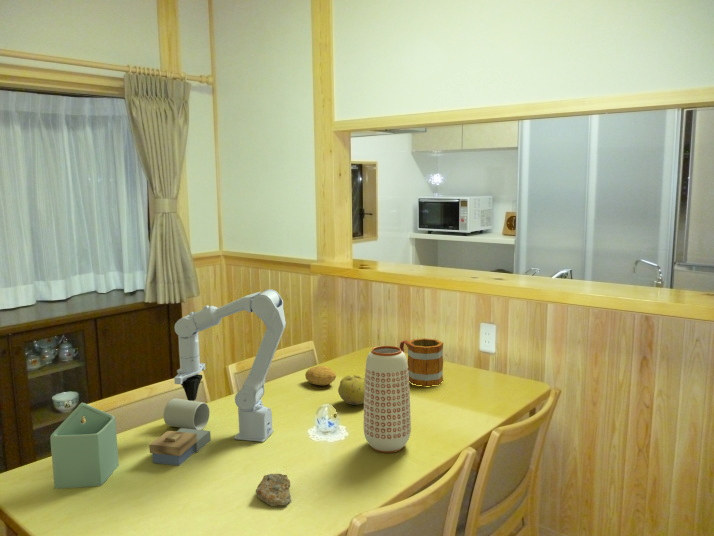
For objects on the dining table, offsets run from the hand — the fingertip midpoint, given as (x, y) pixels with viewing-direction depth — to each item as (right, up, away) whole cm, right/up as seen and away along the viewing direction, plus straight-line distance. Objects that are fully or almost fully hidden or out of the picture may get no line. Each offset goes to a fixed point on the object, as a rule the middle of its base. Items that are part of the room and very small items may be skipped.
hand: (191, 399), depth 175 cm
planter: (-17, -15, -27) cm, 35 cm away
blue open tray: (-1, -13, -15) cm, 19 cm away
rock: (+30, -15, -36) cm, 49 cm away
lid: (-1, -10, -15) cm, 18 cm away
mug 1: (-8, -6, +9) cm, 13 cm away
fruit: (+49, -7, +23) cm, 54 cm away
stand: (+1, -11, -7) cm, 13 cm away
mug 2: (+73, -3, +48) cm, 88 cm away
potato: (+36, -4, +44) cm, 57 cm away
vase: (+58, -11, -10) cm, 60 cm away
